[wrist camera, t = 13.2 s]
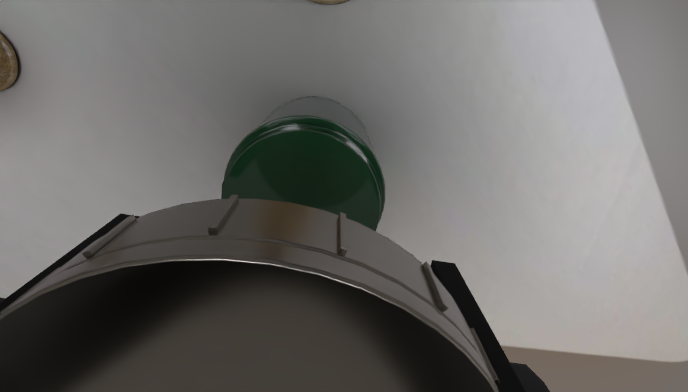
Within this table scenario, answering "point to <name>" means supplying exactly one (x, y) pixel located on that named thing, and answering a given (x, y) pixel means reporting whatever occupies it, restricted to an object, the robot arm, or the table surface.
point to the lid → (241, 310)
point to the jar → (310, 161)
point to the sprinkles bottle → (7, 64)
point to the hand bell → (328, 1)
